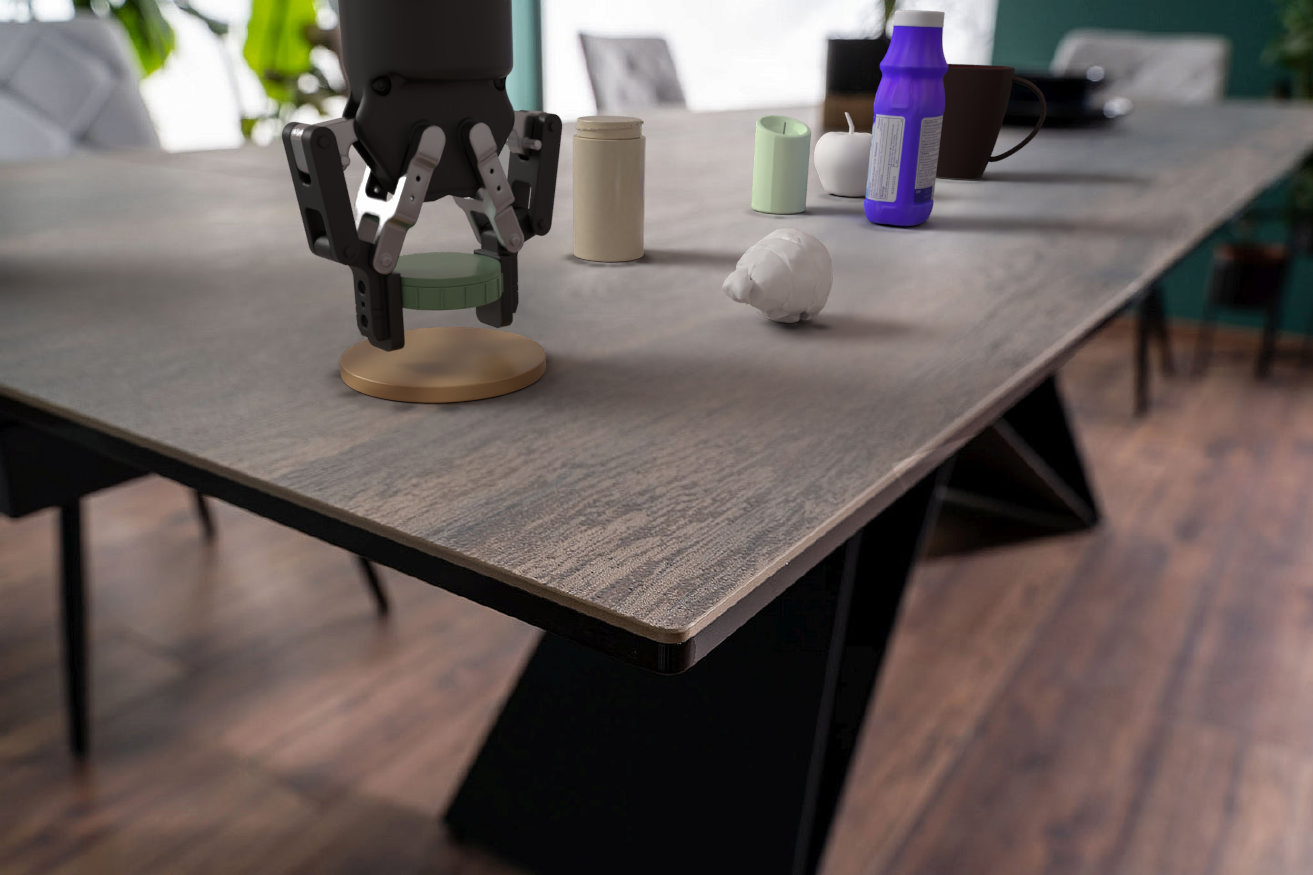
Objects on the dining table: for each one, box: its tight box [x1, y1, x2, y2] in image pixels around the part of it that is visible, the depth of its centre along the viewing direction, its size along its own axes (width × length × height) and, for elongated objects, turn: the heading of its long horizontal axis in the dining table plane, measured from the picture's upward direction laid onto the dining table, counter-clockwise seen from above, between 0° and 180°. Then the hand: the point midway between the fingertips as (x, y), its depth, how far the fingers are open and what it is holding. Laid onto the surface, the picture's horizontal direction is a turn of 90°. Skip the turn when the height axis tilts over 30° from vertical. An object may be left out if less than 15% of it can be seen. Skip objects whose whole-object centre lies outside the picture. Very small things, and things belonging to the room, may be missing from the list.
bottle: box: [863, 9, 949, 227], centre depth 92 cm, size 7×6×17 cm
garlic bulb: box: [722, 227, 834, 324], centre depth 62 cm, size 6×6×5 cm
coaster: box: [339, 326, 547, 404], centre depth 54 cm, size 10×10×1 cm
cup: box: [936, 63, 1047, 181], centre depth 121 cm, size 10×14×12 cm
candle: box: [750, 114, 812, 215], centre depth 98 cm, size 5×5×8 cm
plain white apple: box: [813, 111, 872, 198], centre depth 108 cm, size 7×7×8 cm
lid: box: [393, 251, 503, 312], centre depth 52 cm, size 6×6×2 cm
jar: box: [572, 115, 647, 263], centre depth 78 cm, size 5×5×10 cm
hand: (442, 333), depth 53 cm, fingers closed on lid, 5 cm apart
